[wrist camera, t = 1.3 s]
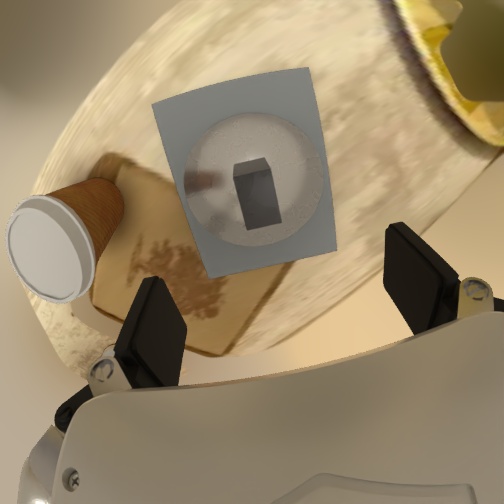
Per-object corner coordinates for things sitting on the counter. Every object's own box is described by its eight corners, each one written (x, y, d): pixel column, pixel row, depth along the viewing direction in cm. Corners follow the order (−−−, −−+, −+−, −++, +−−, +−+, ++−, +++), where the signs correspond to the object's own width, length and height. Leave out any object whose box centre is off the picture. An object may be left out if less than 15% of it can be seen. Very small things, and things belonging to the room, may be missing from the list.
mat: (335, 248, 30) (337, 250, 30) (209, 276, 31) (209, 279, 31) (306, 68, 21) (308, 67, 20) (153, 104, 22) (151, 104, 21)
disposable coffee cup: (57, 212, 26) (-3, 264, 16) (88, 146, 23) (13, 177, 13) (114, 257, 30) (71, 325, 19) (153, 196, 26) (105, 253, 16)
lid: (326, 224, 28) (346, 255, 23) (208, 251, 29) (201, 287, 24) (306, 102, 22) (327, 99, 16) (170, 134, 23) (149, 141, 17)
